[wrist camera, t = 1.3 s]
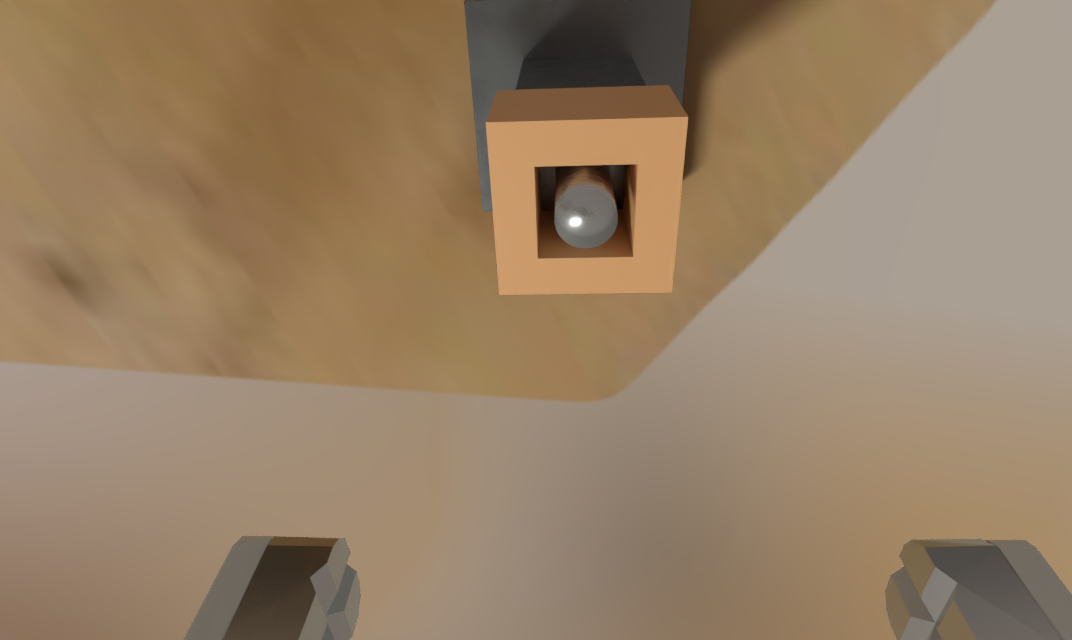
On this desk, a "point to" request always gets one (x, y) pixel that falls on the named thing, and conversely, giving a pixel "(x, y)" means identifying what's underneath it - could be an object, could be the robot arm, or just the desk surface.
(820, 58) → the desk surface
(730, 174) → the desk surface
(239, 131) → the desk surface
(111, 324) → the desk surface
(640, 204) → the collar
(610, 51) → the stand
